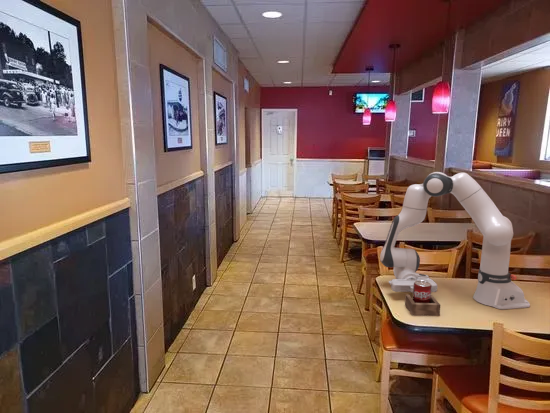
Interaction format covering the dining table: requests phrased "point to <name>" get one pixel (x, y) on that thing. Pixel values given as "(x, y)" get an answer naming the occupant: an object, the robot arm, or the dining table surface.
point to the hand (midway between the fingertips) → (418, 292)
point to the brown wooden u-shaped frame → (422, 307)
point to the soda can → (422, 292)
